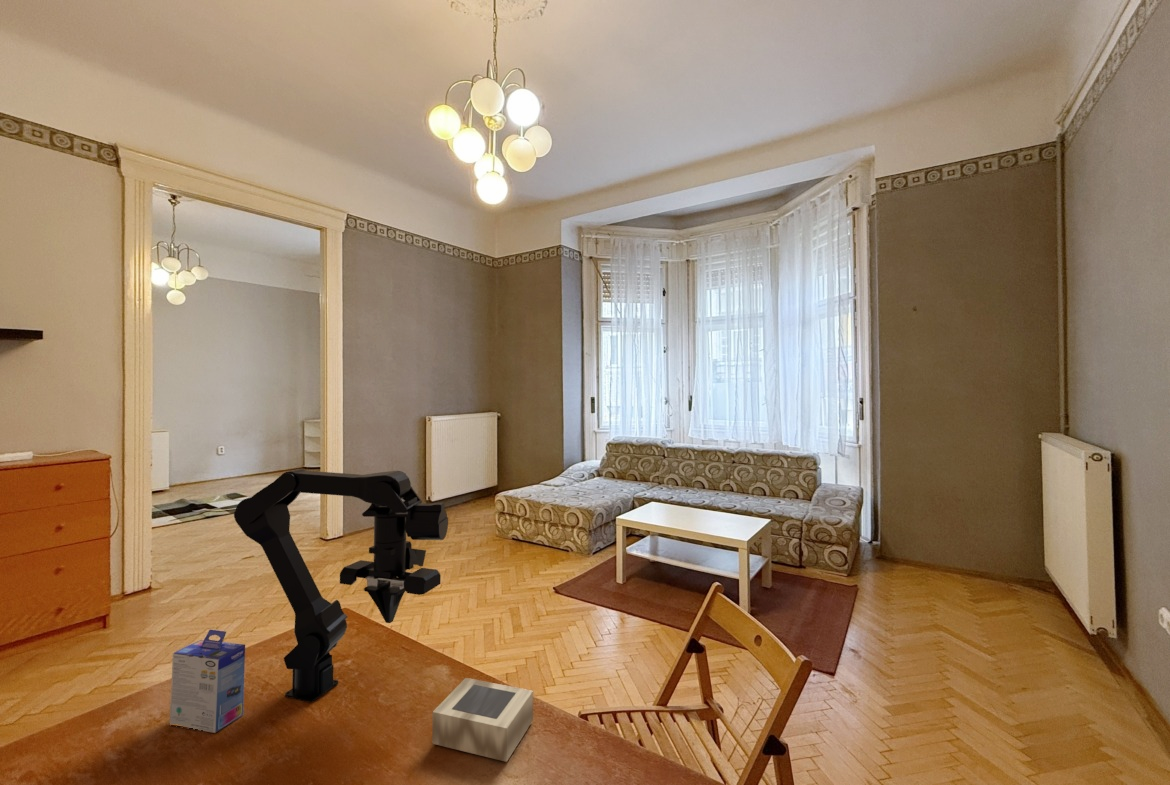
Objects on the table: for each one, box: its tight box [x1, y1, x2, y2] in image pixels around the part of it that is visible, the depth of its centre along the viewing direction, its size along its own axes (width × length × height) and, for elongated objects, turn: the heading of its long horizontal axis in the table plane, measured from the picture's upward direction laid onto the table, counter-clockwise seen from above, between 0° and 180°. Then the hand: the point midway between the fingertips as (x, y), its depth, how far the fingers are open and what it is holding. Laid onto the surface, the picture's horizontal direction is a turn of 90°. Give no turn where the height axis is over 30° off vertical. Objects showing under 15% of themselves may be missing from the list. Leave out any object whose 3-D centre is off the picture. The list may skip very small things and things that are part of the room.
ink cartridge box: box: [168, 629, 246, 734], centre depth 84 cm, size 10×6×14 cm, turn 78°
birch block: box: [431, 677, 534, 763], centre depth 80 cm, size 5×10×13 cm
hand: (389, 622), depth 92 cm, fingers closed
